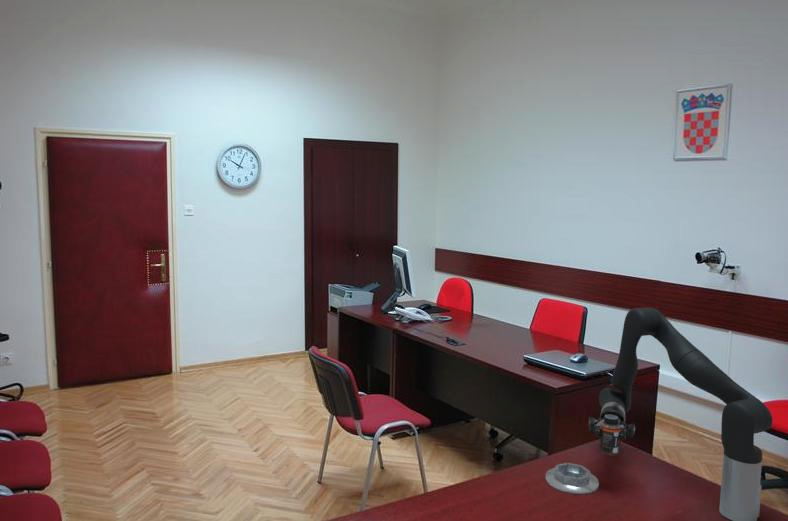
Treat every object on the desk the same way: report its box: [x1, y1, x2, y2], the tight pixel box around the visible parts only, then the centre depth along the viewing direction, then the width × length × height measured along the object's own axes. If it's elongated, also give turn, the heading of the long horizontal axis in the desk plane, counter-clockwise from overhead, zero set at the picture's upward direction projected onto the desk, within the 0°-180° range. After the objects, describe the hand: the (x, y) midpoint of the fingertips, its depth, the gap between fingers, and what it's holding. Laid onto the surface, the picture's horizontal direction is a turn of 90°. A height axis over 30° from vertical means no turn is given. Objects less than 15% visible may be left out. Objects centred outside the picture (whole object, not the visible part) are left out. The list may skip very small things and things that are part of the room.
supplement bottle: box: [598, 414, 622, 457], centre depth 176 cm, size 6×6×11 cm
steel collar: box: [545, 462, 600, 495], centre depth 182 cm, size 16×16×4 cm
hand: (610, 436), depth 174 cm, fingers closed on supplement bottle, 6 cm apart
